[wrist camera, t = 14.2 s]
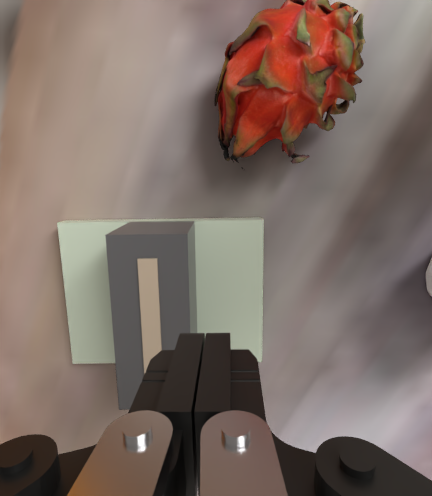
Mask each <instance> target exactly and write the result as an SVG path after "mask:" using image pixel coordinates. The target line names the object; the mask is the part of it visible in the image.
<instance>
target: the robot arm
mask: <svg viewBox="0 0 432 496" xmlns="http://www.w3.org/2000/svg"><path fill="white" fill-rule="evenodd" d="M197 491H198V494H199V496H432V481H431V480H430V479H428V478H426V477H425V476H423V475H422V474H420V473H419V472H417V471H415V470H414V469H412V468H411V467H409V466H408V465H406V464H404V463H403V462H401V461H400V460H398V459H397V458H395V457H394V456H392V455H390V454H389V453H387V452H386V451H384V450H383V449H381V448H379V447H378V446H376V445H374V444H372V443H370V442H368V441H365V440H362V439H359V438H354V437H335V438H331V439H328V440H327V441H325V442H323V443H322V444H321V445H320V446H319V448H318V449H317V451H316V453H313V452H309V451H305V450H302V449H298V448H295V447H292V446H290V445H288V444H286V443H284V442H283V441H281V440H280V439H278V438H277V437H276V436H275V435H274V434H273V433H272V432H271V430H270V428H269V426H268V425H267V422H266V417H265V410H264V403H263V396H262V389H261V382H260V375H259V368H258V361H257V358H256V357H255V356H254V355H253V354H252V352H251V351H250V350H249V349H231V339H230V333H206V336H205V334H204V333H180V334H179V337H178V341H177V344H176V347H175V350H161V351H160V352H159V353H158V354H157V355H155V356H154V357H153V358H152V359H151V360H150V362H149V365H148V367H147V369H146V373H145V374H144V377H143V379H142V382H141V384H140V386H139V389H138V391H137V393H136V396H135V398H134V400H133V403H132V405H131V408H130V410H129V412H128V414H126V415H123V416H121V417H119V418H118V419H116V420H115V421H113V422H112V423H111V424H110V425H109V426H108V427H107V428H106V430H105V431H104V433H103V435H102V436H101V438H100V440H99V441H98V443H97V444H96V445H94V446H91V447H87V448H84V449H80V450H76V451H72V452H67V453H63V454H59V455H58V450H57V445H56V443H55V441H54V440H53V439H51V438H50V437H48V436H45V435H36V434H34V435H26V436H21V437H18V438H15V439H12V440H9V441H7V442H5V443H3V444H1V445H0V496H197Z"/></svg>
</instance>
